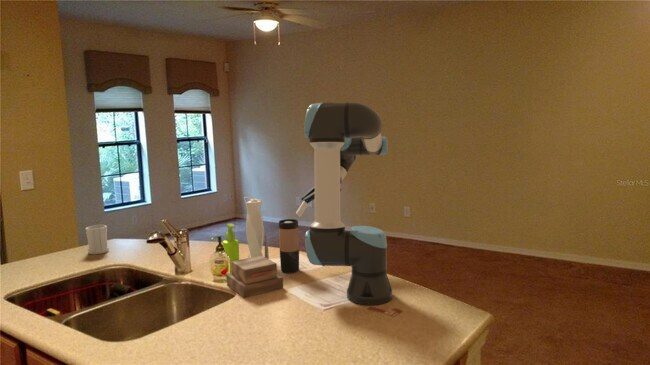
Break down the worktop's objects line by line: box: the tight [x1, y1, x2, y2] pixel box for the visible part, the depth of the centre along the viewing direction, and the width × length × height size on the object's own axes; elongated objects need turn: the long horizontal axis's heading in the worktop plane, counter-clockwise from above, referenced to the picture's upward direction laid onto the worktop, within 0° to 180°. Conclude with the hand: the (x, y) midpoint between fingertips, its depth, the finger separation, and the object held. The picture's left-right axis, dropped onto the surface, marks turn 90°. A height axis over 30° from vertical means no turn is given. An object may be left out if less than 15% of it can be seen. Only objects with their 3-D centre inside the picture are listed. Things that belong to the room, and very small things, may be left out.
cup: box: [85, 224, 110, 255], centre depth 217 cm, size 10×9×12 cm
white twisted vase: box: [243, 196, 270, 260], centre depth 197 cm, size 8×8×28 cm
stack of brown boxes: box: [226, 255, 284, 299], centre depth 167 cm, size 15×15×9 cm
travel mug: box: [278, 218, 300, 274], centre depth 184 cm, size 8×8×20 cm
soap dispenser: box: [222, 222, 240, 274], centre depth 181 cm, size 6×7×20 cm
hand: (308, 217), depth 190 cm, fingers open, 13 cm apart
